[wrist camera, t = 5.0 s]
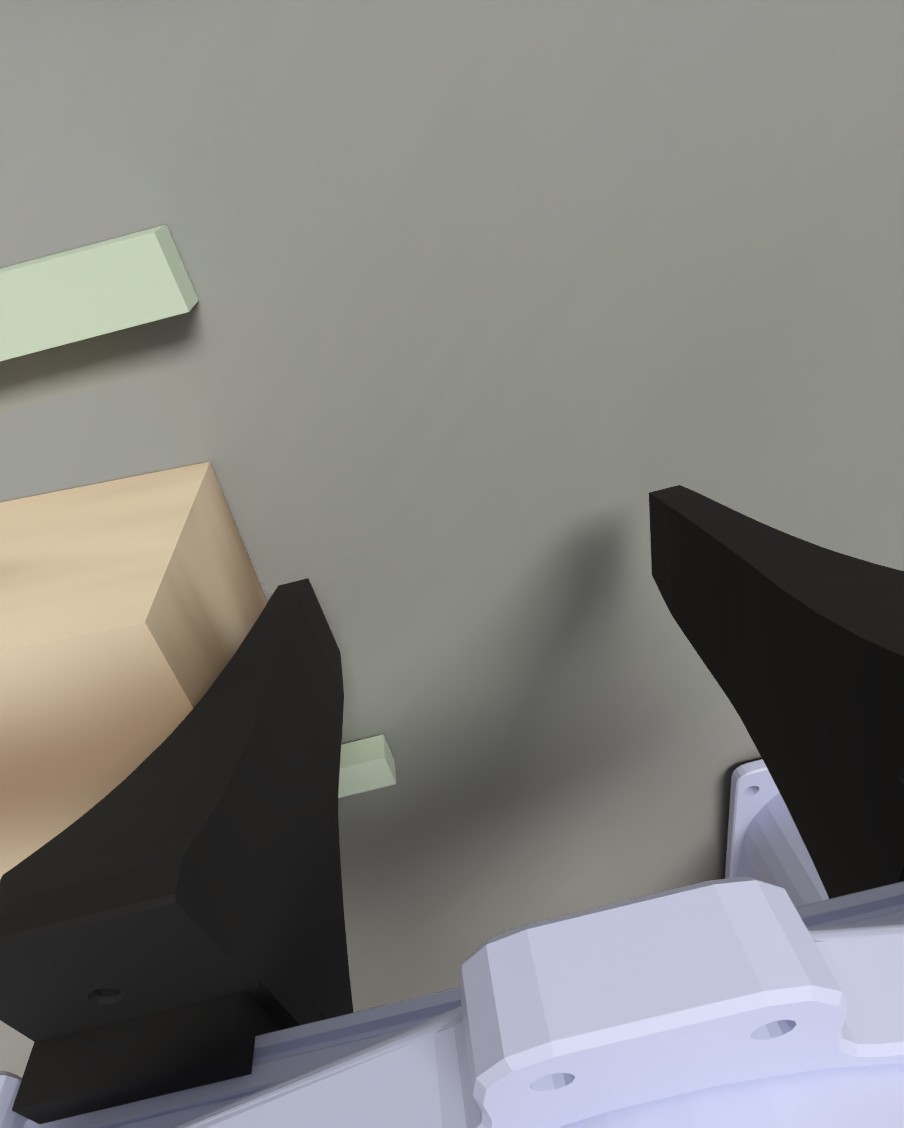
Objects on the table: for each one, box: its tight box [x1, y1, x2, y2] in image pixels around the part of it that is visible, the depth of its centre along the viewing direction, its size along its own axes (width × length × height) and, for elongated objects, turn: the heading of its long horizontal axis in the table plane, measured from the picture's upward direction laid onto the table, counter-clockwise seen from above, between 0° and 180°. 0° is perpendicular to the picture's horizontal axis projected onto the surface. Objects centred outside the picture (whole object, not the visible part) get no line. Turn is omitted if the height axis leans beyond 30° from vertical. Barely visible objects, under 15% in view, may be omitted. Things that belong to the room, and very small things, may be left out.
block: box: [0, 462, 267, 879], centre depth 13 cm, size 6×6×5 cm
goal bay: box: [0, 225, 396, 798], centre depth 14 cm, size 14×14×1 cm
